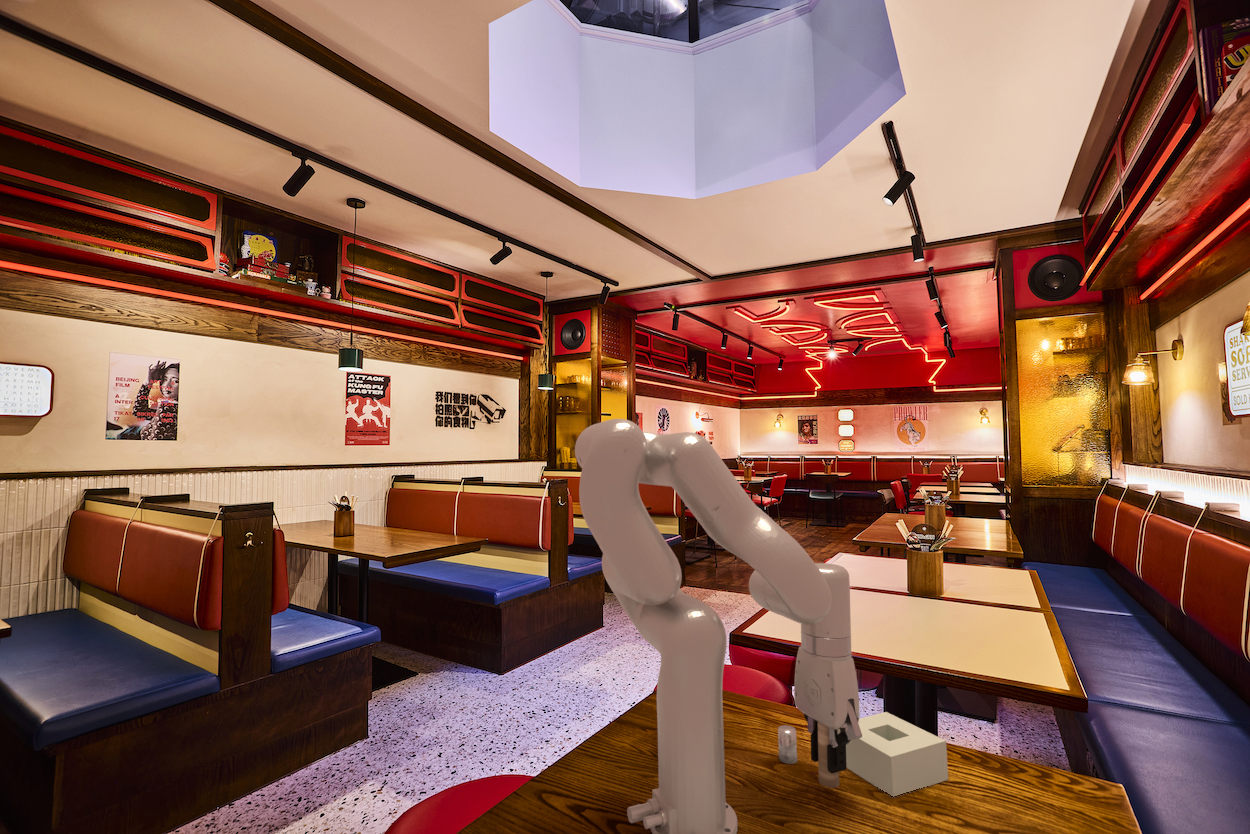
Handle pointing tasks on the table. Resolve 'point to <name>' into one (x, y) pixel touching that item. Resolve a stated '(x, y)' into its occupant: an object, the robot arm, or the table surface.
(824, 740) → the birch pin
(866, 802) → the table surface
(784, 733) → the steel stub
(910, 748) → the hole block
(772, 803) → the table surface
